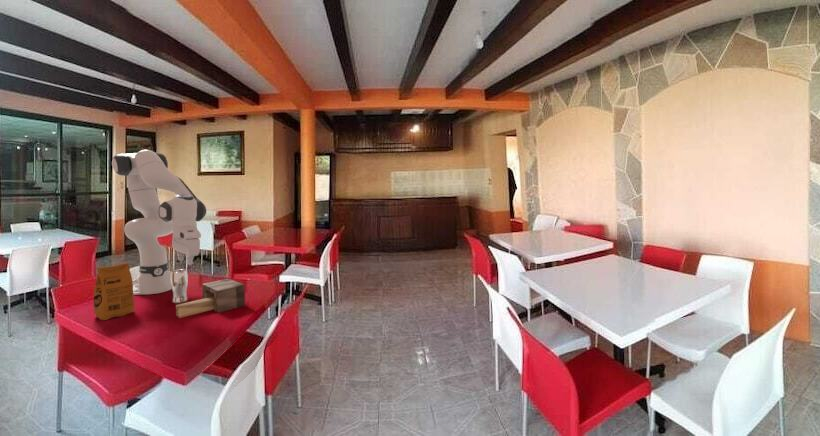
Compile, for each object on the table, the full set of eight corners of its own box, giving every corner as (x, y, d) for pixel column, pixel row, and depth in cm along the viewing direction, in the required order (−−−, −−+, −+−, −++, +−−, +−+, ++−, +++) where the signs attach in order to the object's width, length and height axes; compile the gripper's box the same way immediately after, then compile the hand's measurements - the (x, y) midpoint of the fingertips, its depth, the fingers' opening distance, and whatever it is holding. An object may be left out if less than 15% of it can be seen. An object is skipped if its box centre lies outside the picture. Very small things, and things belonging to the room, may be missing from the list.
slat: (176, 316, 147) (175, 305, 147) (220, 305, 162) (219, 294, 161) (179, 318, 145) (179, 307, 145) (223, 307, 159) (223, 296, 159)
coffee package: (92, 316, 144) (88, 266, 142) (128, 307, 155) (125, 260, 153) (100, 322, 139) (96, 269, 137) (137, 312, 150) (134, 263, 147)
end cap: (202, 304, 161) (202, 283, 160) (228, 297, 171) (228, 278, 170) (218, 312, 152) (217, 290, 151) (245, 305, 161) (244, 284, 160)
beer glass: (180, 304, 161) (178, 273, 159) (167, 302, 162) (166, 272, 161) (192, 299, 168) (190, 269, 166) (180, 298, 169) (178, 268, 167)
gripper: (167, 229, 153) (168, 258, 155) (186, 235, 141) (186, 268, 143) (183, 228, 158) (183, 257, 160) (202, 234, 146) (202, 265, 148)
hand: (185, 262), depth 151 cm, fingers open, 8 cm apart
